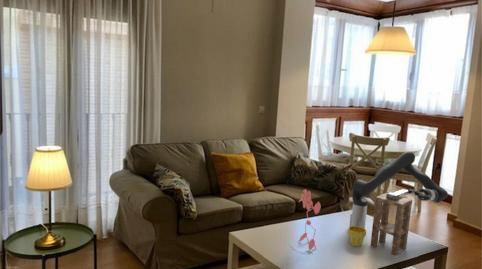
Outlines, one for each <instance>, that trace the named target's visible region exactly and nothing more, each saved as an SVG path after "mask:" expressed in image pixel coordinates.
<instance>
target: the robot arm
mask: <svg viewBox="0 0 482 269" xmlns="http://www.w3.org/2000/svg"><path fill="white" fill-rule="evenodd" d="M415 160H416V155H415V154H414V153H413V152H412V151H405V152H403V153H402V154H401V155H399V156H398V157H397V158H395V159H394V160H392V161H390V162H389V163H386V164H385V165H383V166H381V167H380V168H378V169H377V171H376V172H375V174H374V177H373V178H372V179H371V180H369V181H365V180H362V179H357V180H355V181H354V183H353V186H352V196H351V197H352V198H351V199H352V210H351V213H350V217H349V226H348V228H349V227H350V226H359V227H362V228H364V229H365V228H366V222H367V221H366V220H367V211H368V203H369V202H368V199H367V198H366V196H367V197H368V196H370V194H372V193H373V192H375V190H376V189H377V188H379V187H381V185H383V184H384V183H386V182H387V181H389V180H390V179H392V178H393V177H395V176H396V175H397V174H398V173H399V172H400V171H401V170H402V169H404V170H405V171H406V172H407V173H409V174H410V175H411V176H412V177H413V178H414V179H416V180H417V181H418V182H419V183H420V184H421V185H422V187H424V188H419V189H418V190H416V189H413V188H407V189H406V190H409V192H408V195H412V196H415V197H417V198H418V199H419V200H420V201H422V202H423V201H427V202H429V201H432V202H434V203H436V204H438V203H441V202H442V201H444V200H445V199H447V198H448V197H449V193H448V191H447V190H446V189H445V188H443V187H441V186H439V185H438V184H437V183H436V182H434V181H433V179H431V178H430V176H429V175H428V174H426V173H424V172H422V171H420V170H418V169H417V168H415V167H414V165H413V164H414V162H415ZM365 230H366V229H365Z"/></svg>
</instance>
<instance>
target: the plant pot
mask: <svg viewBox="0 0 482 269" xmlns="http://www.w3.org/2000/svg"><path fill="white" fill-rule="evenodd" d="M347 234H348V236H349V244H350V246H354V247H361V246H362V244H363V241H364V239H365V237H366V236H367V230H366V229H364V228H362V227H359V226H350V227H349V226H348V231H347Z"/></svg>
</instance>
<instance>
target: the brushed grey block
mask: <svg viewBox="0 0 482 269" xmlns="http://www.w3.org/2000/svg"><path fill="white" fill-rule="evenodd" d="M408 192H409V190H407V189H404V188H403V189H400V190H398V191H395V192H386V193H387V195H386V198H387V199H390V200H394V201H397V200H399V198H401V197H405V196H408V195H409V194H408Z"/></svg>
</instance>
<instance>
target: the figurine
mask: <svg viewBox="0 0 482 269" xmlns="http://www.w3.org/2000/svg"><path fill="white" fill-rule="evenodd" d="M302 191H303V193H301V195H300V197H301V198H300V200H299V201H298V203H300V202H301V201H302V208H303V209H306V210H307V211H306V217H307V220H306V222H305V227H304V228H305V229H304V233H303V234H302V235H301V236H300V237H299V239H298V242H301V241H303V240H304V239H305V238H306V239H307V242H308V243H307V244H308V250H309V251H311V250H312V249H313V248H315V250H316V249H317V246H316V241H315V239H314V238H315V234H316V229H315V228H314V227H313V226H312V225H311V223H312V222H311V220H309V215H308V214H309V212H310V211H312V210H313V211H314V214H315V215H317V214H319V213H320V211H321V207H322V206H321V203H320V201H317V203H315V205H314V203H313V201H312V196H311V195H312V193H311V191H310V190H307V189H303V190H302ZM307 226H310V227H311V228H312V229H313V230H314V232H313V236H312V238H311V239H310V240H309V238H308V236H307V235H308V233H307V232H306V231H307ZM303 254H305V255H306V253H304V252H303Z"/></svg>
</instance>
